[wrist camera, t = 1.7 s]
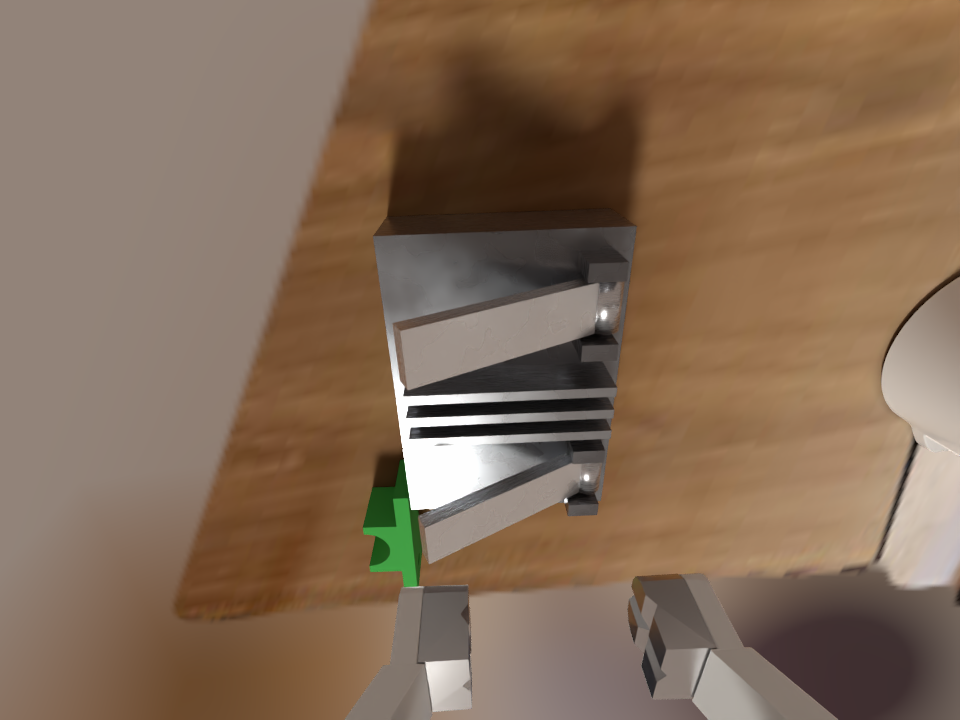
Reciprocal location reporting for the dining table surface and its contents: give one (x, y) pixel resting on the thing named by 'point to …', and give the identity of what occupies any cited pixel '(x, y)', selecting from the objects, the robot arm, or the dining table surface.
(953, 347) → the robot arm
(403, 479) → the pipe clamp
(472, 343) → the strap near
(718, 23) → the dining table surface
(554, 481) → the strap far
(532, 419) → the heatsink block
